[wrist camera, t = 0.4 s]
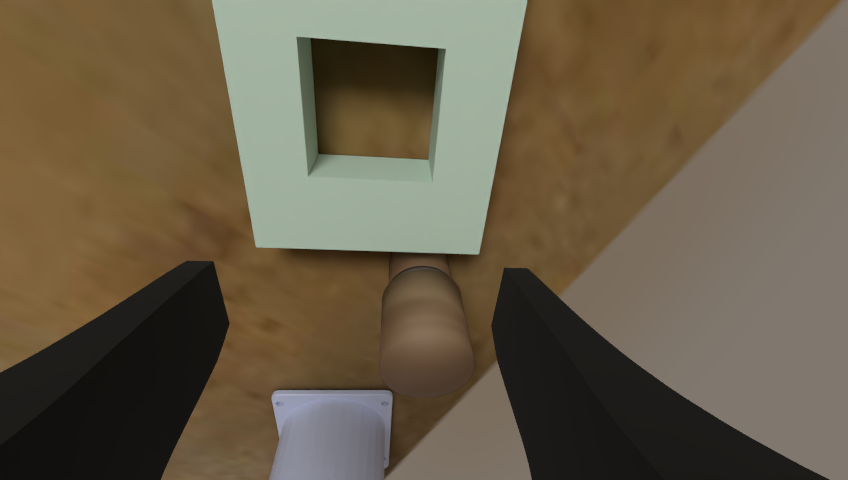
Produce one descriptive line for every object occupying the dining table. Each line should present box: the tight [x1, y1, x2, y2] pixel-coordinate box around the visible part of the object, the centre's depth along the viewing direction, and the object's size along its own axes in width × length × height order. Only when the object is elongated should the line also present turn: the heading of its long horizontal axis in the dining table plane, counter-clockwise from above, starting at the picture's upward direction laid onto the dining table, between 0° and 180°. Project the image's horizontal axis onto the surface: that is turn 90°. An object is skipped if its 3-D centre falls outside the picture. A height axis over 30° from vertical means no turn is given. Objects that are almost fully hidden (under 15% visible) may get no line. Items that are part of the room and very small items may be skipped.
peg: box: [379, 252, 475, 398], centre depth 19 cm, size 4×4×7 cm
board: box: [212, 0, 527, 254], centre depth 16 cm, size 12×10×2 cm
